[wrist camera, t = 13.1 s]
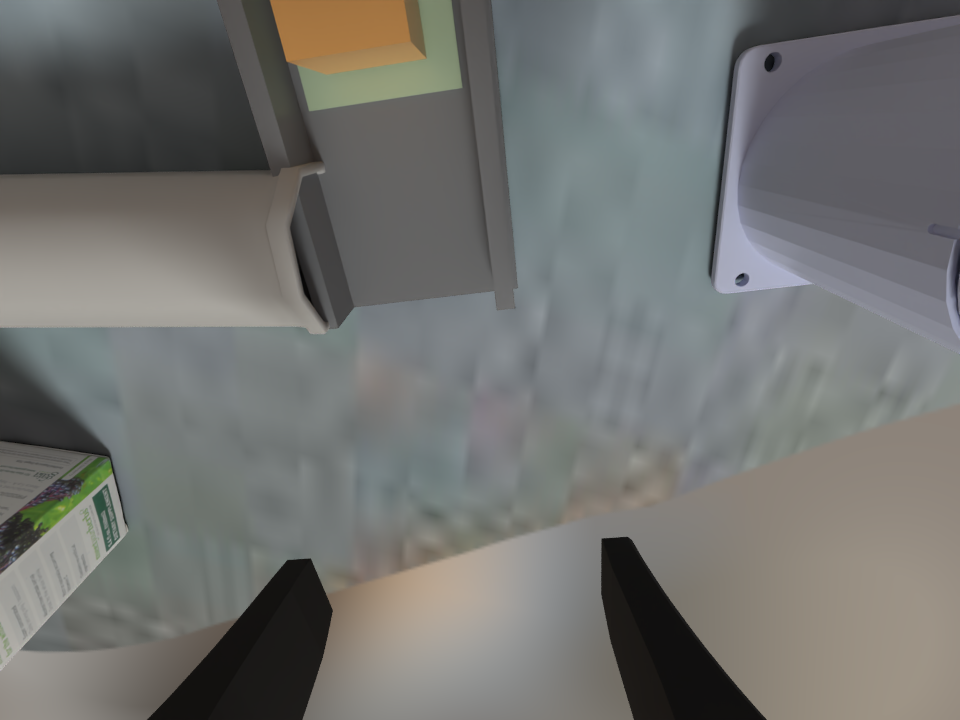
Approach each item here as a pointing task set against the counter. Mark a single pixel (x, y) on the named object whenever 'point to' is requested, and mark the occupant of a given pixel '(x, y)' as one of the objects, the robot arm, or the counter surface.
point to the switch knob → (349, 33)
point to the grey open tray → (389, 161)
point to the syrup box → (50, 532)
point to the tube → (153, 250)
